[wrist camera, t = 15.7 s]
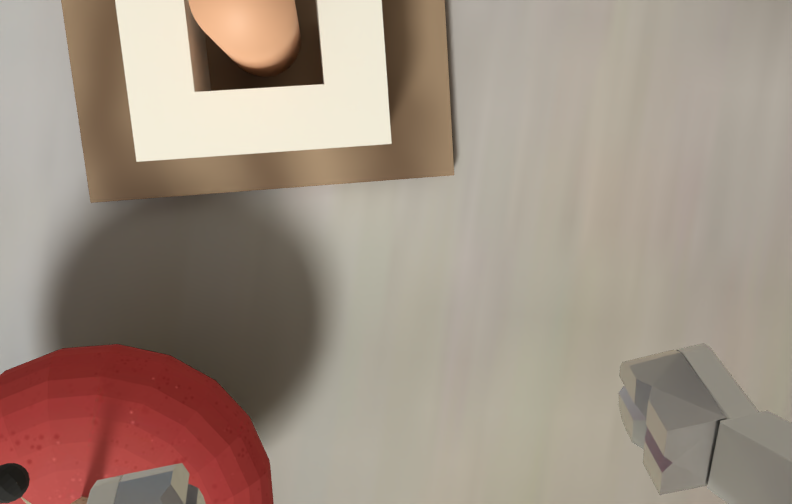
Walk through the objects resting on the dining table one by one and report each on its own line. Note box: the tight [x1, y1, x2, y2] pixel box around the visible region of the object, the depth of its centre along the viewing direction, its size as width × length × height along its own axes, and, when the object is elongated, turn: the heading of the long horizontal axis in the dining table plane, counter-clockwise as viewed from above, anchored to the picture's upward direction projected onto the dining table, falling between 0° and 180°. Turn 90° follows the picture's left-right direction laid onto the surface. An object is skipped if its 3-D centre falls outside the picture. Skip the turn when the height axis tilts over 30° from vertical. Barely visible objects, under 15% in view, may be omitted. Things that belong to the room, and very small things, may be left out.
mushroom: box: [0, 344, 273, 504], centre depth 31 cm, size 16×16×15 cm
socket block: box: [115, 0, 392, 162], centre depth 33 cm, size 12×12×5 cm
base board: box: [61, 0, 454, 203], centre depth 36 cm, size 20×16×1 cm
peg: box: [188, 0, 301, 77], centre depth 30 cm, size 4×4×10 cm
